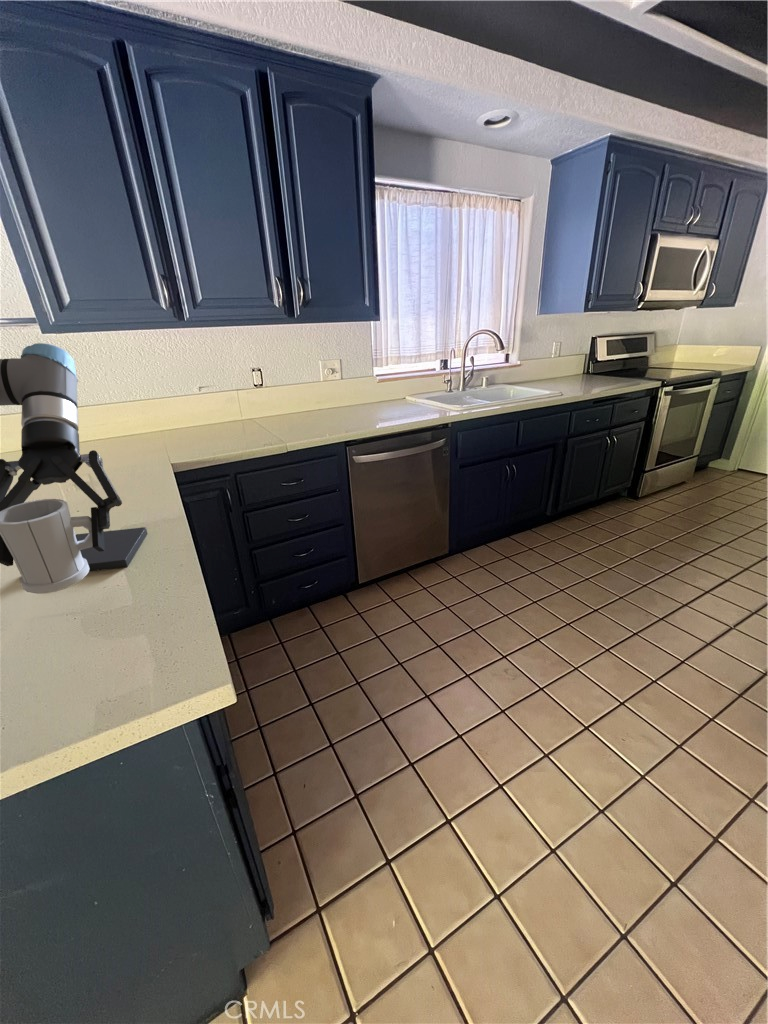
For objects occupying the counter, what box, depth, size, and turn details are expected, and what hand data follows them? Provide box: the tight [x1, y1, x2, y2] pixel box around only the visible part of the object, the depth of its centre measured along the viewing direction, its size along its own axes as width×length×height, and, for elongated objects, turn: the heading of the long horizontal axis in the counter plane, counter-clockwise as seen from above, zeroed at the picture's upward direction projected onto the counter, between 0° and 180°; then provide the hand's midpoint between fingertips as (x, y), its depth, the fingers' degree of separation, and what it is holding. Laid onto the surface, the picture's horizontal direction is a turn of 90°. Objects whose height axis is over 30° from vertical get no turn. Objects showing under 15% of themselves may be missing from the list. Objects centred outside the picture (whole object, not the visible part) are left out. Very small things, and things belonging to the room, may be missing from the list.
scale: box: [75, 526, 149, 573], centre depth 93 cm, size 15×15×4 cm
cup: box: [0, 498, 93, 595], centre depth 66 cm, size 10×9×12 cm
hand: (53, 556), depth 64 cm, fingers closed on cup, 11 cm apart
